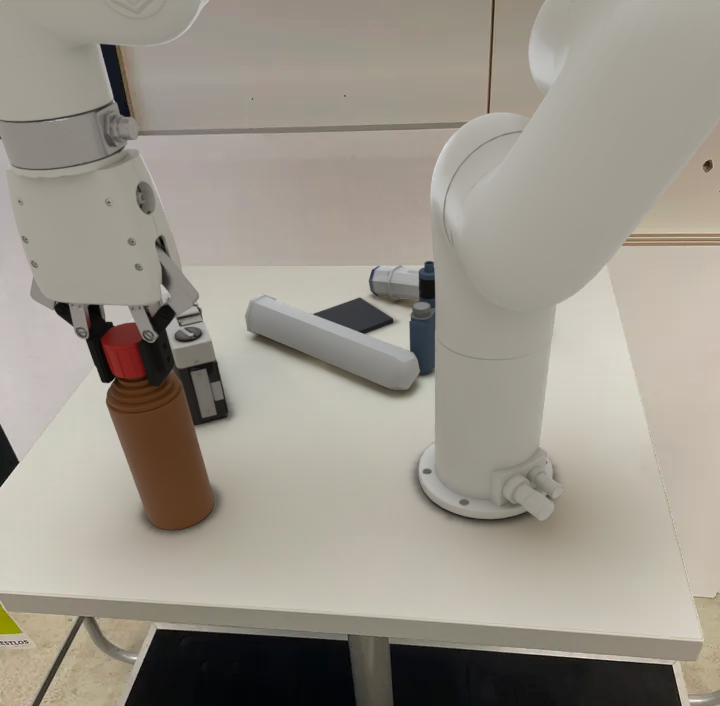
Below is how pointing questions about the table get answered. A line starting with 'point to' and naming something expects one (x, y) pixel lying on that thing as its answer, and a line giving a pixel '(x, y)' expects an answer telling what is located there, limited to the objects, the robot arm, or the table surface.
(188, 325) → the camera
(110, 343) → the cap
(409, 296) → the white faceted cylinder
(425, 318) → the vaping device
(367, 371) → the tube
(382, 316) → the mat
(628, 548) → the table surface
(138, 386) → the bottle
